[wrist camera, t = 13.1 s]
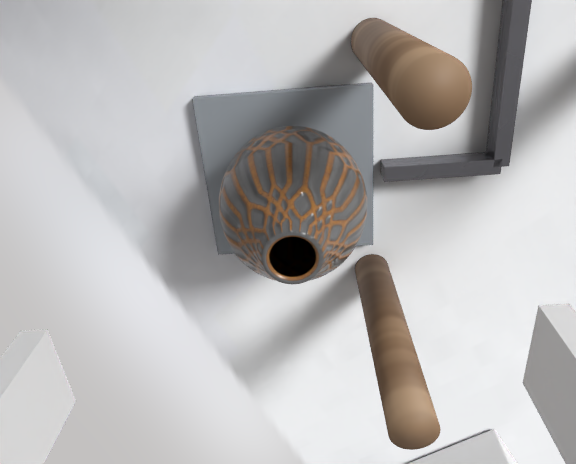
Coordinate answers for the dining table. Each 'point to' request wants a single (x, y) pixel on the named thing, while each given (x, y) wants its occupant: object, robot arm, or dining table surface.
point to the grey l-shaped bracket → (500, 116)
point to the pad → (278, 113)
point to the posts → (373, 268)
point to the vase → (293, 204)
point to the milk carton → (473, 452)
